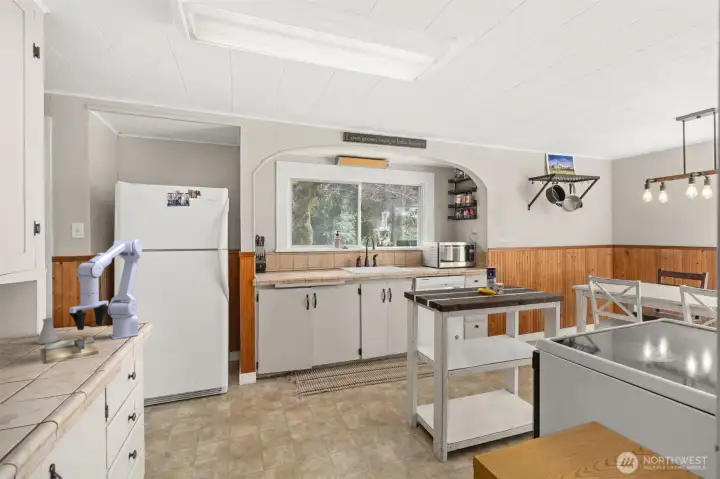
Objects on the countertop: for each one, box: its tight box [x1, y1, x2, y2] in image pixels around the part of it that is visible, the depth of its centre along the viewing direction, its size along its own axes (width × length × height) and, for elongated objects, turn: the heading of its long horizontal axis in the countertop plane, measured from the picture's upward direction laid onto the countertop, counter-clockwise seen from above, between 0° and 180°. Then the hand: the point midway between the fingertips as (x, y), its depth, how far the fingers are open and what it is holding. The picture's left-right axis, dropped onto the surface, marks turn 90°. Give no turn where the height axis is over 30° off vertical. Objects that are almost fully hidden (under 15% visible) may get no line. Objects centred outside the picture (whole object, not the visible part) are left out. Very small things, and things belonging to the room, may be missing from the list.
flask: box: [35, 317, 60, 345], centre depth 149 cm, size 7×7×10 cm
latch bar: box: [73, 338, 85, 350], centre depth 137 cm, size 11×3×2 cm, turn 43°
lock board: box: [44, 334, 99, 364], centre depth 138 cm, size 15×22×4 cm
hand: (90, 327), depth 139 cm, fingers open, 7 cm apart
